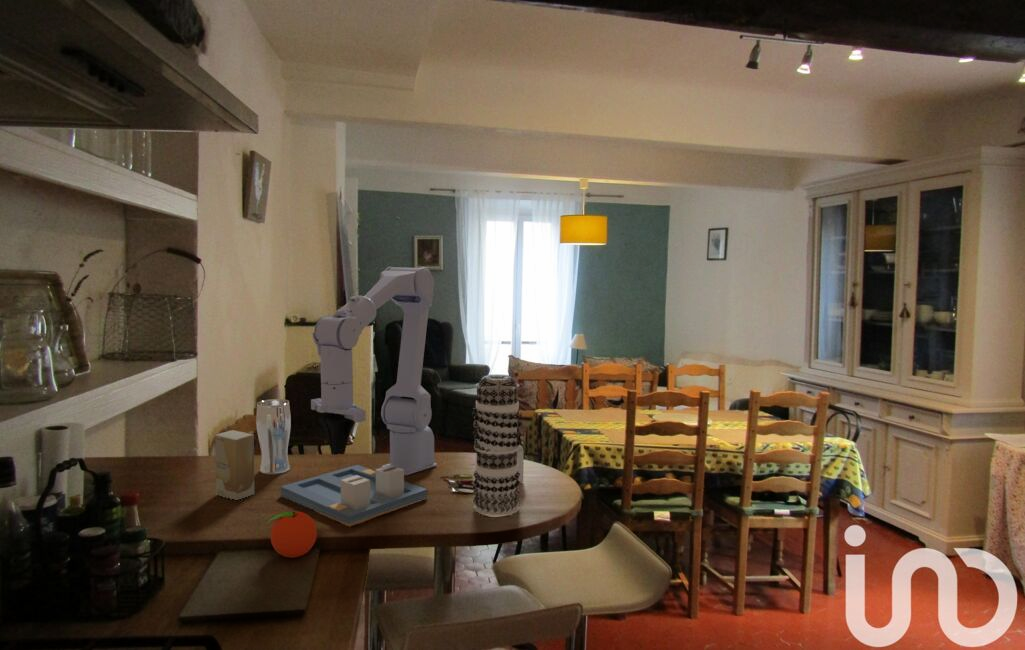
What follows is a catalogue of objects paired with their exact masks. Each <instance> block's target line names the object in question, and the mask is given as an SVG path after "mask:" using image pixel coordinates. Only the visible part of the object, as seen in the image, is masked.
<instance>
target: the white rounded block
mask: <svg viewBox="0 0 1025 650" xmlns="http://www.w3.org/2000/svg"><path fill="white" fill-rule="evenodd" d="M519 446H520V448H519V450H518V451H517V463H518V472H519V473H520V476H519V478H518V481H519V482H520V483H519V485H520V484H522V483H523V482H524V460H525V459H524V457H525V456H524V448H523V446H522V445H521V444H520V445H519Z"/></svg>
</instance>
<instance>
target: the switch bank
mask: <svg viewBox="0 0 1025 650" xmlns="http://www.w3.org/2000/svg"><path fill="white" fill-rule="evenodd" d="M355 475H358V476H361V477H363V478H366V479H369V480H370V504H371V505H370V506H367V507H364V508H361V509H358V510H354V509H352V508H350V507H347V506H345V505H343V504H341V480H342V479H345V478H349V477H352V476H355ZM281 496H282V497H281ZM280 497H281V498H283V497H284V498H283V499H286V498H287V499H286V500H288V499H289V501H290V500H292V501H294V502H297V503H299V504H301V505H303V506H306V507H308V508H310V509H313V510H315V511H318V512H321V513H323V514H326V515H328V516H331V517H333V518H335V519H338V520H340V521H343V522H346V523H348V524H350V523H353V522H356V521H359V520H362V519H364V518H367V517H370V516H373V515H376V514H379V513H382V512H385V511H389V510H391V509H394V508H397V507H400V506H403V505H406V504H409V503H412V502H415V501H418V500H422V499H424V498H427V499H428V489H427V488H425V487H421V486H419V485H417V484H416V485H415V484H413V483H411V482H410V483H409V482H408V481H405V480H404V494H401V495H399V496H396V497H393V498H390V497H388V496H385V495H383V494H380V493H377V492H376V470H373V469H370V468H368V467H365V466H362V465H360V464H355V465H352V466H348V467H345V468H340V469H337V470H335V471H330V472H327V473H323V474H319V475H317V476H312V477H310V478H305V479H302V480H299V481H295V482H292V483H287V484H283V485H282V486H280ZM292 501H291V502H292ZM294 502H293V503H294ZM299 504H298V505H299ZM301 505H300V506H301ZM303 506H302V507H303ZM310 509H309V510H310Z"/></svg>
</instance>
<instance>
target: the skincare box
mask: <svg viewBox="0 0 1025 650" xmlns="http://www.w3.org/2000/svg"><path fill="white" fill-rule="evenodd" d="M214 441H215V443H214V446H215V453H214V454H215V495H216V496H218V495H219V497H221V496H222V498H225V497H226V498H225V499H228V498H230V499H229V500H232V499H235V500H239V499H241V500H243V499H242V498H244V499H246V498H245V497H247V498H249V497H252V496H254V495H255V435H254V434H253V433H252V434H251V433H247V432H243V431H238V430H234V429H232V430H231V429H230V430H227V431H225V432H221V433H218V434H215V435H214ZM251 495H252V496H251ZM248 496H249V497H248ZM235 500H234V501H235ZM239 501H240V500H239Z"/></svg>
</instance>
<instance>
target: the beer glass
mask: <svg viewBox="0 0 1025 650" xmlns="http://www.w3.org/2000/svg"><path fill="white" fill-rule="evenodd" d="M290 408H291V407H290V400H288V399H285V398H270V399H264V400H261V401H258V402H256V419H255V421H256V422H255V424H256V431H257V436H258V437H257V439H258V441H259V447H260V450H261V462H260V467H259V468H260V469H259V472H260V473H261V474H262V475H269V476H270V475H272V476H273V475H274V476H275V475H281V474H285V473H287V472H289V471H290V469H291V467H290V463H289V462H290V461H289V457H288V451H289V450H288V449H289V448H288V447H289V441H290V435H291V429H292V427H291V426H292V424H291V423H292V421H291V420H292V419H291V418H292V417H291V409H290Z"/></svg>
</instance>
